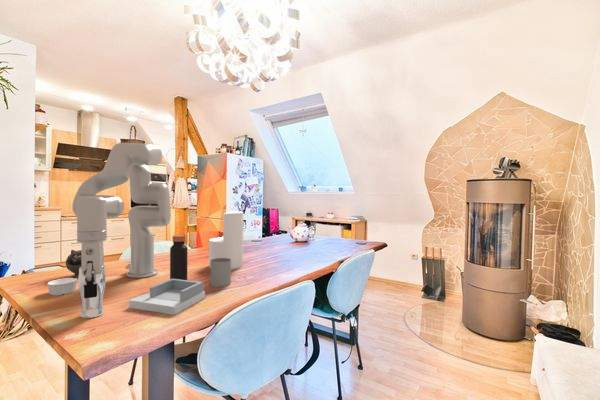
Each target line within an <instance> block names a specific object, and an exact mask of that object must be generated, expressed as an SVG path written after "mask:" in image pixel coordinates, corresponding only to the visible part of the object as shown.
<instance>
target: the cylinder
mask: <svg viewBox="0 0 600 400" xmlns="http://www.w3.org/2000/svg"><path fill="white" fill-rule="evenodd" d="M222 216H223V219H222V220H223V223H222V224H223V227H222V228H223V229H222V230H223V231H222V233H223V234H222V235H223V236H221V237H220V236H219V237H213V238H209V240H208V252H209V253H208V268H210V261H211V260H212V259H216V258H229V259H231V270H237V269H239V268H242V267H243V266H244V265H243V264H244V211H239V210H237V211H235V210H233V211H232V210H229V211H227V212H223V215H222Z"/></svg>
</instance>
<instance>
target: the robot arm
mask: <svg viewBox="0 0 600 400" xmlns="http://www.w3.org/2000/svg"><path fill="white" fill-rule="evenodd" d="M107 157H108V158H106V159H107V160H106V162H105V165H104V167H103V169H102V170H101V171H99V172H96V173H95V174H93V175H92V176H90V177H88V178H86V180H84V181H83V182H82V183H81V185H80V186H79V187H78V189H77V191H76V194H74V195H75V196H74V198H73V201H72V206H71V207H72V209H71V210H72V212H73V214H74V215H75V216H76V242H77V243H79V244H81V249H80V250H82V251H81V263H82V275H84V274H85V275H84V276H85V283H84V298H93V297H97V283H96V273H99V274H101V273H102V269H103V265H105V254H104V253H105V251H104V242H106V241H107V235H108V234H107V233H108V232H107V230H108V229H107V225H108V224H107V219H115V218H118V217H119V216H121V215H122V214H123V212H124V211H125V203H124V200H123V199H122V198H120V197H119V196H117V195H110V194H109V195H105V194H104V195H103V194H101V195H99V194H98V193H100V192H103V191H105V190H109V189H111V188H115V187H117V186H121V185H123V184H125V183H127V182H128V180H129V189H130V190H129V191H130V192H129V193H130V198H131V201H132V202H133V203H136V204H151V205H136V206H133V207H131V208H130V209H129V211H128V213H127V214H128V215H127V217H128V223H129V229H130V230H129V231H130V263H128V264H127V265H126V266H125V267H124V268H125V270H128V272H127V273H126V277H128V278H131V279H138V278H139V279H141V278H148V277H153V276H156V275H157V274H158V272H159V271H158V269H156V268H155V235H154V232H153V231H152V230H151V229H150V228H151V227H155V228H156V227H161V228H162V227H167V226H169V224H171V223H170V222H171V215H172V214H171V198H170V197H171V195H170V190H169V186H168V185H167V184H166V183H164V182H152V176H151V173H152V172H151V170H150V168H149V167H148V166H157V165H159V164H160V163H161V162H162V159H163V152H162V148H161V147H159V145H157V144H151V143H149V144H148V143H138V142H137V143H136V142H118V143H116V144H114V145H113V147H112V148H111V149H110V152H109V155H108V156H107ZM152 204H156V205H152ZM84 271H85V273H84ZM92 271H95V273H93V274H92ZM92 276H94V278H93V277H92Z"/></svg>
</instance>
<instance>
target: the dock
mask: <svg viewBox="0 0 600 400" xmlns="http://www.w3.org/2000/svg"><path fill="white" fill-rule="evenodd" d="M205 297H206V291H205V290H204V282H203V281H195V280H188V279H187V280H180V279H170V278H169V279H167V280H165V281H162V282H160V283H157V284H155V285H152V286H150V287H149V291H148V292H146V293H144V294H141V295H139V296H136V297H133V298H131V299H129V300H128V303H129V304H128V307H129V309H136V310H139V311H140V310H141V311H148V312H153V313H154V312H155V313H160V314H167V315H173V316H174V315H177V314H179V313H181V312H183V311H185V310H186V309H188V308H190V307H192V306H193V305H195V304H198V302H201V301H202V300H204V299H205Z"/></svg>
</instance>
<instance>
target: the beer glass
mask: <svg viewBox="0 0 600 400" xmlns="http://www.w3.org/2000/svg"><path fill="white" fill-rule="evenodd" d="M84 273H85V271H84ZM93 273H95V271H92V274H93ZM84 275H85V274H84ZM84 275H82V267H80V268H79V278H77V281H78V283H77V284H78V291H79V295H80V300H81V310H80V311H81V312H80V314H79V315H80V318H81V317H82V319H94V318H97V316H98V317H100V316H102V315H104V313H105V308H104V304H103V303H104V302H103V300H104V293H105V289H106V282H107V281H106V279H107V277H106V266H105V264H104V265H103V269H102V273H101V274H99V273H96V283H97V297H93V298H84V283H85V276H84ZM92 277H93V278H94V276H92ZM93 317H94V318H93Z"/></svg>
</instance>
